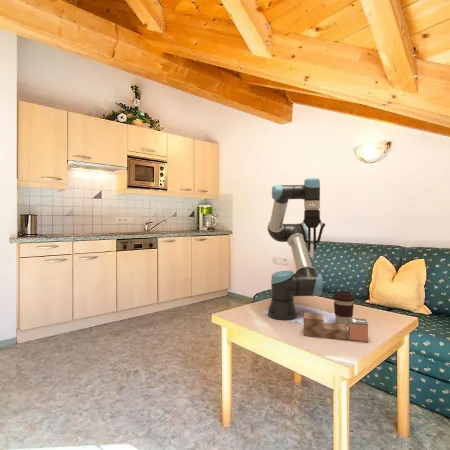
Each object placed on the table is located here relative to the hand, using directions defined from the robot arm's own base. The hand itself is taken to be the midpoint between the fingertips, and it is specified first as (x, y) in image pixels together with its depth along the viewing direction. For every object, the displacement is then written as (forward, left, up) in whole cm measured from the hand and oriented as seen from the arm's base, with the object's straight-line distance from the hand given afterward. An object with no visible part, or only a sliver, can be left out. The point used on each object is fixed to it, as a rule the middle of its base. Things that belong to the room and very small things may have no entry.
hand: (311, 256), depth 147 cm
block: (+19, -17, -25) cm, 36 cm away
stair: (+10, -17, -32) cm, 38 cm away
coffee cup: (+15, +1, -33) cm, 36 cm away
